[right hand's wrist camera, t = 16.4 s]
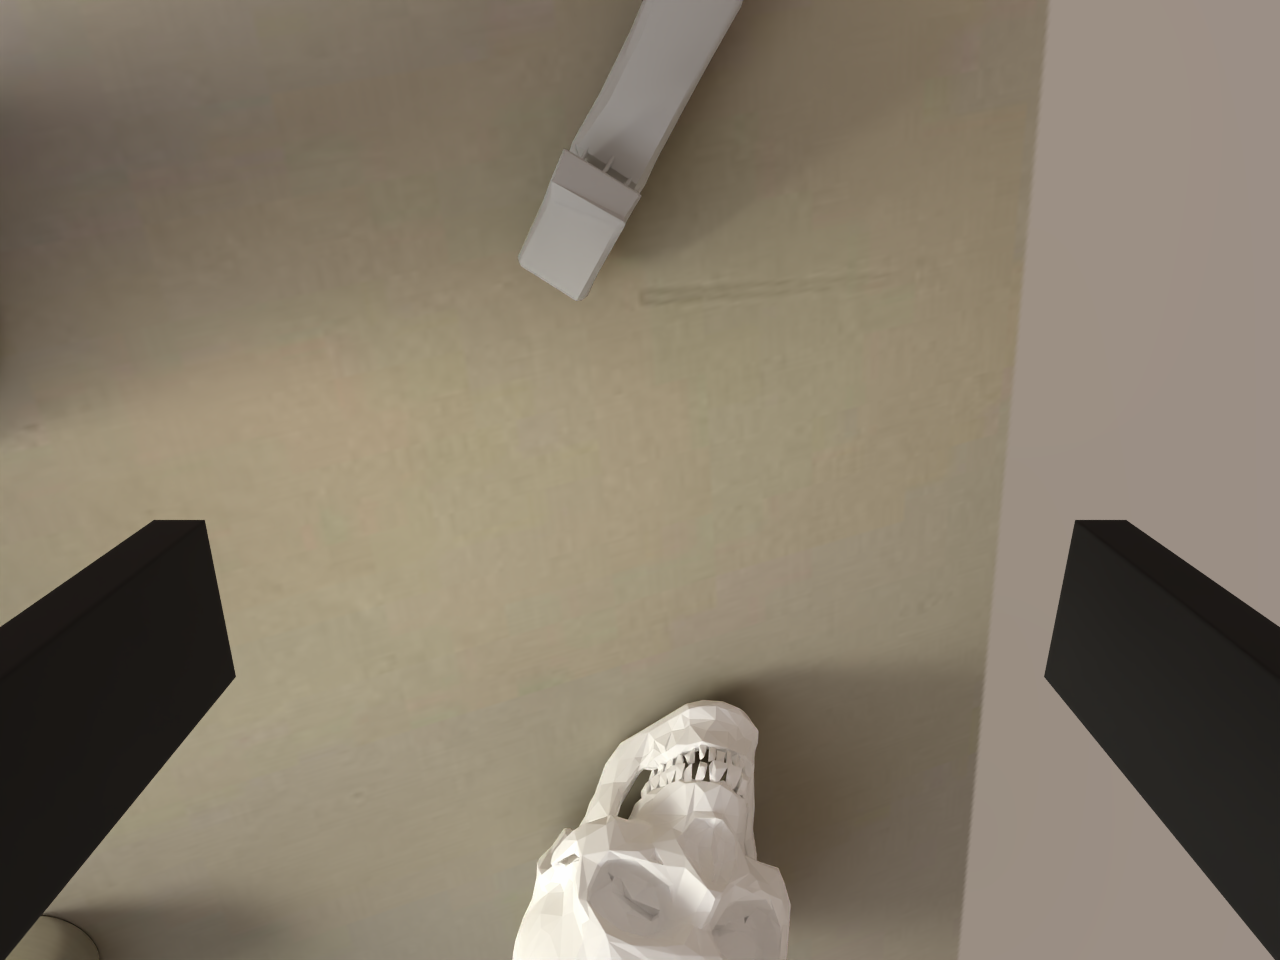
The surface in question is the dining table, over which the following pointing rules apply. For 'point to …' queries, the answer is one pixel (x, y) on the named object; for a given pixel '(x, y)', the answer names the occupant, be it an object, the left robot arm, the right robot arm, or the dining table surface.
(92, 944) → the can
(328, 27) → the dining table surface
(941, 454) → the dining table surface
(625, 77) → the clamp
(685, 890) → the skull
